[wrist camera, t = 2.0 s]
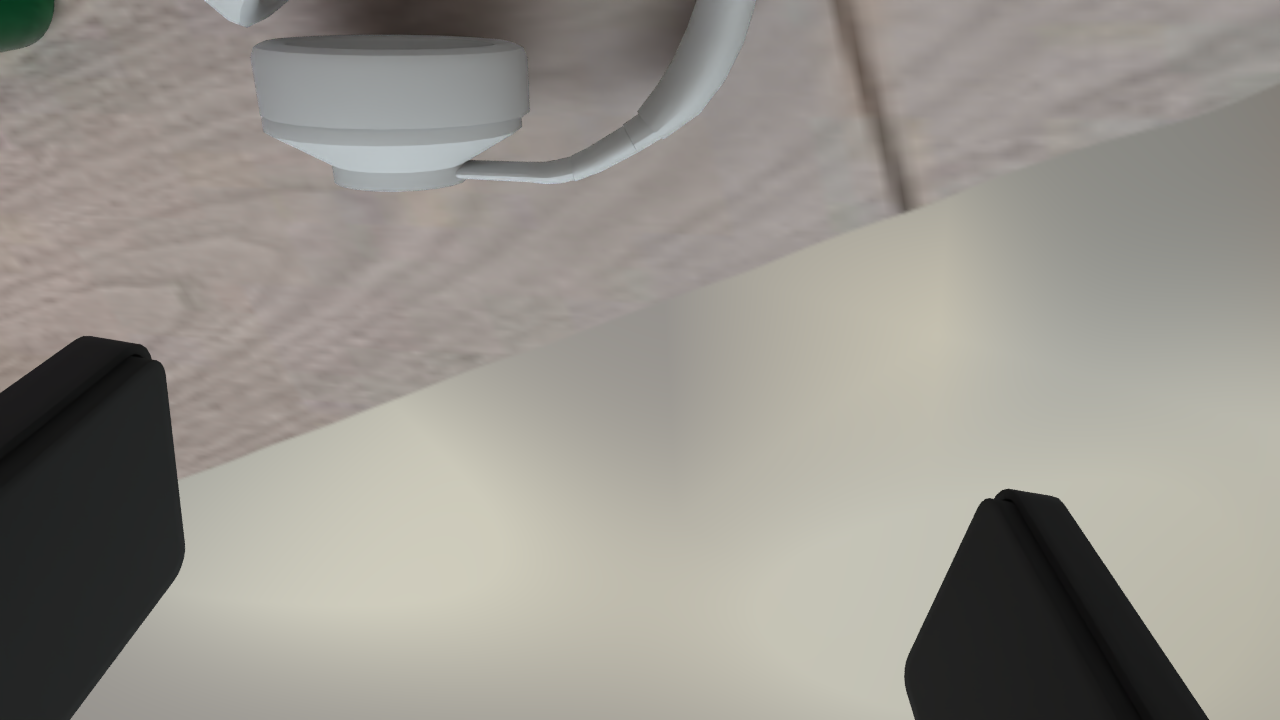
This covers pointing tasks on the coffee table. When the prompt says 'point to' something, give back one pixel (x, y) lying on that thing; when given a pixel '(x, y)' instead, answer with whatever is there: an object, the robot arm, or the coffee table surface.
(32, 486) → the robot arm
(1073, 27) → the coffee table surface
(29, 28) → the soda can
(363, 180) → the headphones
